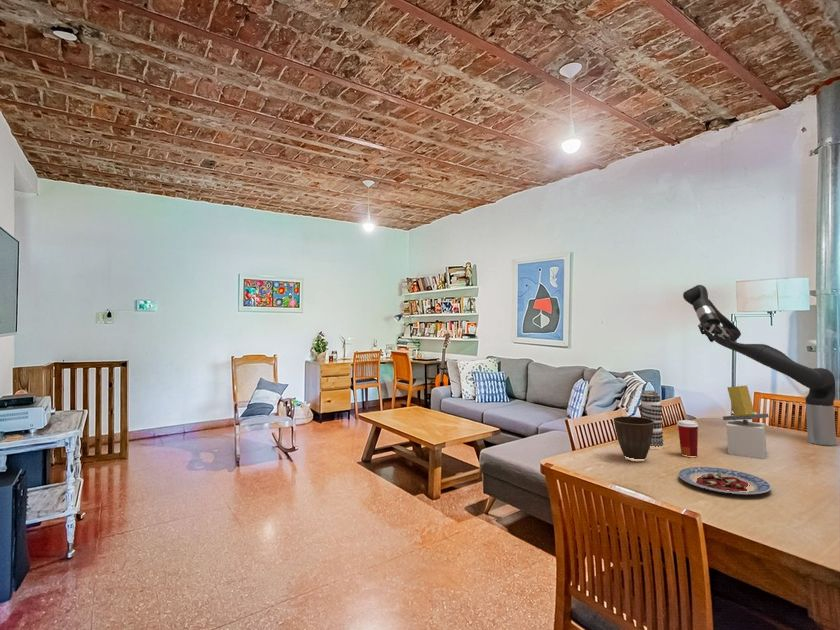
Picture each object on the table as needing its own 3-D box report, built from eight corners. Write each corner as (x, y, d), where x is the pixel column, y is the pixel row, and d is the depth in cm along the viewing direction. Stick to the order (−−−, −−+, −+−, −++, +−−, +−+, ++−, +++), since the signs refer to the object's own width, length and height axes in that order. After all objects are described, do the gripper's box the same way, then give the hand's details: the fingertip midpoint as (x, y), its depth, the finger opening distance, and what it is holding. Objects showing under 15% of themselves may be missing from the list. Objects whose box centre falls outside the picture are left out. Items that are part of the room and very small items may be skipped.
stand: (731, 447, 189) (729, 416, 189) (766, 451, 181) (764, 419, 181) (727, 453, 180) (726, 421, 180) (764, 458, 172) (762, 424, 172)
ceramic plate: (778, 506, 128) (778, 496, 128) (677, 491, 141) (677, 482, 141) (765, 479, 150) (764, 471, 150) (679, 469, 163) (678, 461, 163)
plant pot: (663, 464, 168) (661, 423, 169) (625, 465, 168) (623, 424, 169) (644, 453, 183) (642, 416, 184) (609, 454, 183) (607, 416, 184)
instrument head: (723, 420, 185) (715, 388, 188) (740, 418, 188) (732, 387, 191) (751, 419, 174) (742, 385, 177) (768, 417, 177) (759, 384, 180)
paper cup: (698, 454, 180) (696, 420, 181) (701, 459, 173) (699, 424, 174) (677, 452, 184) (675, 419, 184) (679, 457, 177) (677, 423, 177)
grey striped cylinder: (665, 445, 194) (662, 390, 195) (663, 450, 187) (661, 392, 188) (642, 443, 199) (639, 389, 200) (640, 448, 192) (637, 391, 193)
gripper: (715, 325, 211) (729, 350, 200) (689, 319, 210) (701, 344, 199) (726, 314, 206) (741, 340, 195) (699, 309, 205) (712, 334, 194)
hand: (721, 342), depth 197 cm, fingers open, 8 cm apart
